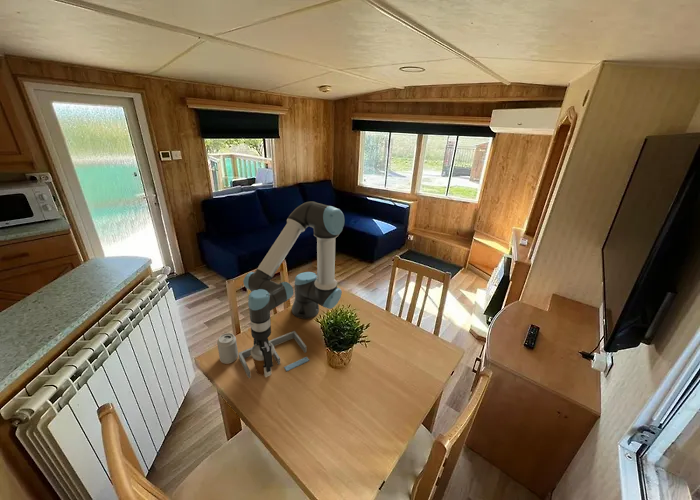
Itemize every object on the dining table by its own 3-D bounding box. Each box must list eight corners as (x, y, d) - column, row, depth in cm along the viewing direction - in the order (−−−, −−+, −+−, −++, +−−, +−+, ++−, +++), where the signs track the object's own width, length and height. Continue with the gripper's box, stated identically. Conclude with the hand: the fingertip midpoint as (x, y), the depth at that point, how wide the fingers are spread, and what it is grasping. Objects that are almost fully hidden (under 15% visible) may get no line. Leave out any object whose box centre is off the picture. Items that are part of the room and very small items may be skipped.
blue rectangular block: (306, 357, 127) (306, 356, 127) (309, 360, 126) (309, 359, 126) (284, 367, 121) (284, 366, 121) (286, 371, 120) (286, 370, 119)
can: (241, 353, 127) (238, 332, 122) (233, 366, 120) (230, 345, 115) (225, 350, 127) (222, 330, 122) (216, 363, 121) (213, 342, 116)
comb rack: (294, 336, 139) (294, 330, 138) (306, 352, 130) (306, 346, 129) (239, 358, 124) (238, 352, 122) (248, 378, 115) (247, 372, 114)
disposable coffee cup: (247, 372, 118) (245, 351, 113) (263, 357, 126) (262, 337, 120) (264, 382, 114) (262, 360, 109) (280, 366, 122) (279, 345, 117)
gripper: (242, 314, 115) (247, 355, 125) (261, 346, 100) (264, 390, 110) (260, 309, 119) (263, 349, 129) (280, 338, 104) (282, 381, 114)
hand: (264, 368), depth 119 cm, fingers open, 8 cm apart
